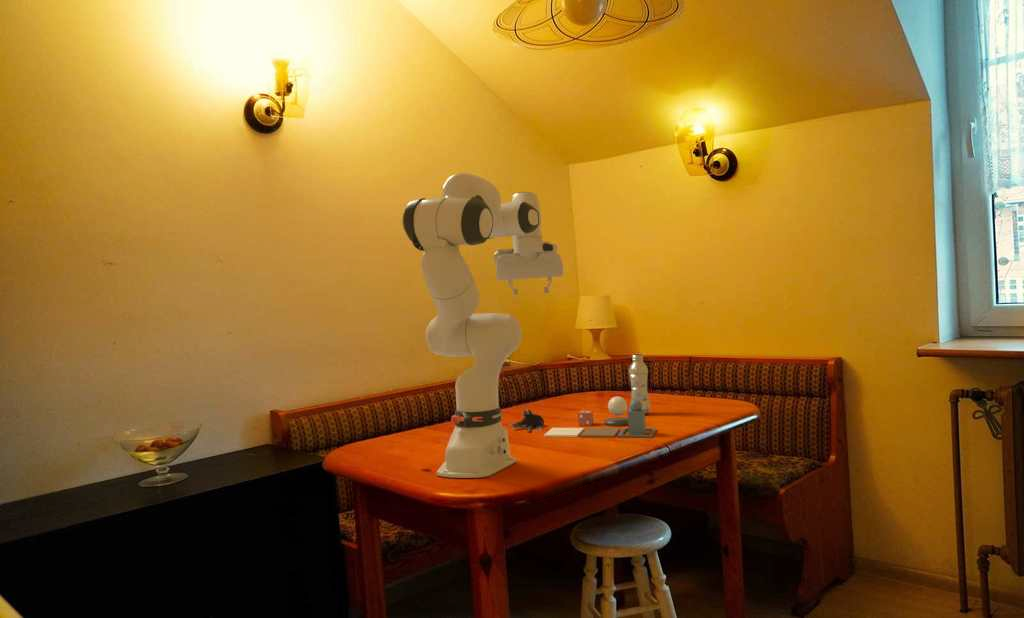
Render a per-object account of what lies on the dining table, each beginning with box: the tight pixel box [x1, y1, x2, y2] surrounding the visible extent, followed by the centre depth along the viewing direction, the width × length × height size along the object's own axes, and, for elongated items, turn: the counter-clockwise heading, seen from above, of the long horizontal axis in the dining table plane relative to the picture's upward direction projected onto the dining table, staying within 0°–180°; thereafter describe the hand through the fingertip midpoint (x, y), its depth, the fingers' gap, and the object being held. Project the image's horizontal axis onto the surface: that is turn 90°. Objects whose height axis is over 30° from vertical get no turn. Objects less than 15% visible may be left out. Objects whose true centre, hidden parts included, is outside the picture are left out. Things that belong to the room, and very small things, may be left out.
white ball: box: [607, 396, 628, 417], centre depth 226 cm, size 6×6×6 cm
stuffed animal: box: [509, 409, 545, 434], centre depth 228 cm, size 12×10×12 cm
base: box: [603, 416, 628, 427], centre depth 226 cm, size 9×9×1 cm
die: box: [577, 410, 595, 427], centre depth 227 cm, size 4×4×4 cm
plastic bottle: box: [628, 353, 651, 414], centre depth 239 cm, size 6×7×20 cm
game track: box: [543, 427, 657, 439], centre depth 213 cm, size 10×32×1 cm, turn 72°
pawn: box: [626, 400, 647, 435], centre depth 209 cm, size 4×4×10 cm
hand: (531, 293), depth 214 cm, fingers open, 8 cm apart
